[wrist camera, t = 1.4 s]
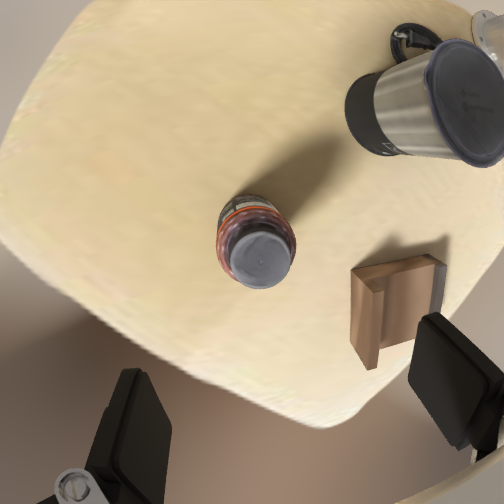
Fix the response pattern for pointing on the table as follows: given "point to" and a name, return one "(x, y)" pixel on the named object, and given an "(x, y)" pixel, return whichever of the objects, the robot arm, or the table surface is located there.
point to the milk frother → (431, 102)
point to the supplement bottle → (254, 242)
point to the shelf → (393, 303)
